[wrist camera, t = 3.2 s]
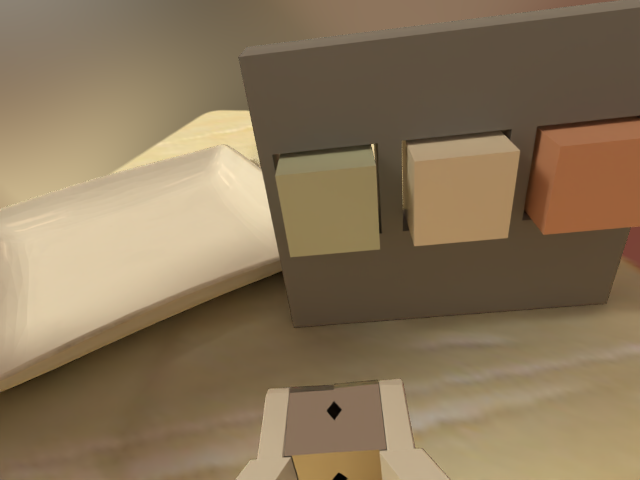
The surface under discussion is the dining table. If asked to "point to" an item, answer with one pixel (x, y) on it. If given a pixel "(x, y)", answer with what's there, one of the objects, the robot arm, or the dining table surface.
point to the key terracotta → (585, 176)
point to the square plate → (127, 255)
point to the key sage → (329, 200)
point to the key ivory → (459, 187)
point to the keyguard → (436, 121)
